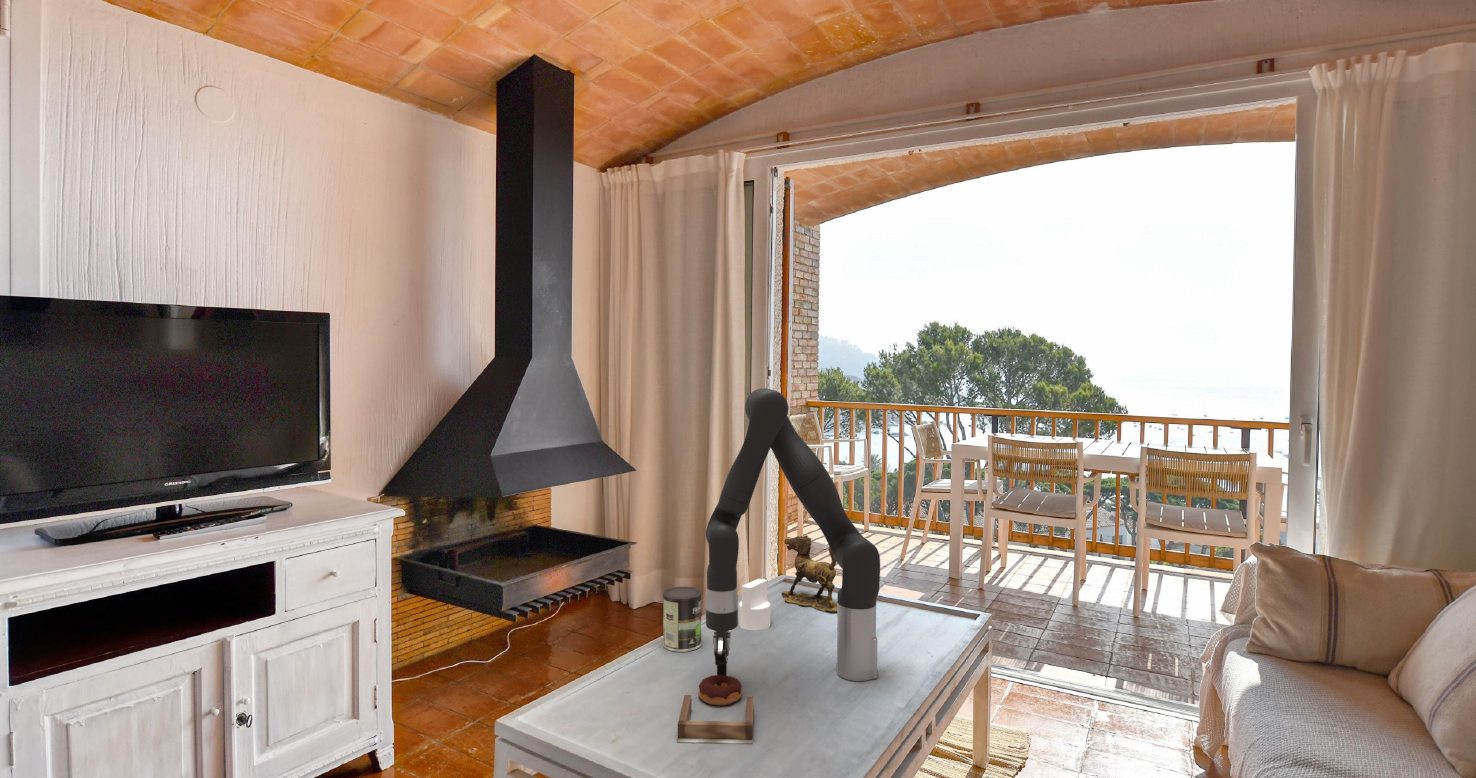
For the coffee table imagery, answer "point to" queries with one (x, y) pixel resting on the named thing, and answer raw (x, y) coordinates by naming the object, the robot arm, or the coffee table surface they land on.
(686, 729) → the walnut pocket
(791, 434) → the robot arm
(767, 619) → the base with upright slab
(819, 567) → the figurine
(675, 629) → the coffee can
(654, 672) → the coffee table surface
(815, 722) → the coffee table surface
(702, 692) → the donut
